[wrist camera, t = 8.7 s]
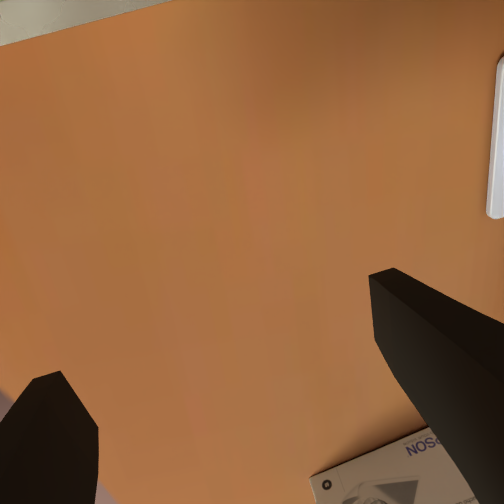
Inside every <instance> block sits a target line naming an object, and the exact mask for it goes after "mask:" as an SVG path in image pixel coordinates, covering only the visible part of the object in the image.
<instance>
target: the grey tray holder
mask: <svg viewBox="0 0 504 504" xmlns="http://www.w3.org/2000/svg"><path fill="white" fill-rule="evenodd" d="M167 1H171V0H0V46H2V45H6V44H10V43H13V42H17V41H21V40H25V39H28V38H32V37H36V36H40V35H43V34H47V33H51V32H55V31H58V30H62V29H66V28H70V27H73V26H77V25H81V24H85V23H88V22H92V21H96V20H100V19H103V18H107V17H111V16H115V15H118V14H122V13H126V12H130V11H133V10H137V9H141V8H145V7H148V6H152V5H156V4H160V3H163V2H167Z"/></svg>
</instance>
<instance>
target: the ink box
mask: <svg viewBox="0 0 504 504" xmlns="http://www.w3.org/2000/svg"><path fill="white" fill-rule="evenodd" d="M309 480H310V484H311V487H312V491H313V494H314V498H315V501H316V504H479V502H478V501H477V499H476V497H475V495H474V494H473V492H472V490H471V488H470V487H469V485H468V483H467V482H466V480H465V479H464V477H463V476H462V474H461V472H460V471H459V469H458V468H457V466H456V465H455V463H454V462H453V460H452V459H451V457H450V456H449V455H448V453H447V452H446V450H445V449H444V447H443V446H442V445H441V443H440V442H439V440H438V439H437V437H436V436H435V435H434V433H433V432H432V430H431V429H430V427H428V428H426V429H424V430H421V431H419V432H417V433H414V434H412V435H410V436H407V437H405V438H403V439H400V440H398V441H396V442H393V443H391V444H388V445H386V446H384V447H382V448H379V449H377V450H375V451H372V452H370V453H367V454H365V455H363V456H360V457H358V458H355V459H353V460H351V461H348V462H346V463H344V464H341V465H339V466H336V467H334V468H332V469H329V470H327V471H325V472H322V473H320V474H317V475H315V476H312V477H310V479H309Z"/></svg>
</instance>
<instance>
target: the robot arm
mask: <svg viewBox="0 0 504 504" xmlns="http://www.w3.org/2000/svg"><path fill="white" fill-rule="evenodd" d="M486 214H487V215H488V216H489V217H491V218H493V219H499V218H502V217H504V56H503V57H502V58H501V60H500V61H499V63H498V66H497V74H496V87H495V100H494V113H493V126H492V139H491V152H490V165H489V178H488V192H487V205H486ZM368 276H369V286H370V296H371V307H372V317H373V327H374V338H375V341H376V343H377V345H378V347H379V349H380V351H381V353H382V355H383V357H384V359H385V360H386V362H387V364H388V366H389V368H390V370H391V371H392V373H393V375H394V377H395V378H396V380H397V381H398V383H399V384H400V386H401V387H402V389H403V390H404V392H405V393H406V394H407V396H408V397H409V399H410V400H411V402H412V403H413V405H414V406H415V407H416V409H417V410H418V412H419V413H420V415H421V416H422V417H423V419H424V420H425V422H426V423H427V425H428V426H429V427H430V429H431V430H432V432H433V433H434V435H435V436H436V437H437V439H438V440H439V442H440V443H441V445H442V446H443V447H444V449H445V450H446V452H447V453H448V455H449V456H450V457H451V459H452V460H453V462H454V463H455V465H456V466H457V468H458V469H459V471H460V472H461V474H462V476H463V477H464V479H465V480H466V482H467V483H468V485H469V487H470V488H471V490H472V492H473V494H474V495H475V497H476V499H477V501H478V502H479V504H504V324H503V323H501V322H499V321H497V320H495V319H493V318H491V317H488V316H486V315H484V314H482V313H480V312H478V311H476V310H474V309H472V308H470V307H468V306H466V305H464V304H462V303H460V302H458V301H456V300H454V299H452V298H450V297H448V296H446V295H444V294H442V293H441V292H439V291H437V290H435V289H433V288H431V287H429V286H427V285H425V284H424V283H422V282H420V281H418V280H416V279H414V278H413V277H411V276H409V275H407V274H405V273H403V272H401V271H399V270H397V269H395V268H391V269H387V270H384V271H381V272H378V273H374V274H371V275H368ZM98 459H99V442H98V426H97V425H96V423H95V422H94V420H93V419H92V417H91V416H90V414H89V413H88V411H87V410H86V408H85V407H84V405H83V404H82V402H81V401H80V399H79V398H78V396H77V395H76V393H75V392H74V390H73V389H72V387H71V386H70V384H69V383H68V381H67V380H66V378H65V377H64V375H63V374H62V372H61V371H57V372H54V373H51V374H47V375H44V376H41V377H38V378H34V379H33V380H32V381H31V382H30V383H29V385H28V386H27V387H26V388H25V390H24V391H23V392H22V394H21V395H20V396H19V398H18V399H17V400H16V402H15V403H14V404H13V406H12V407H11V409H10V410H9V411H8V413H7V414H6V415H5V417H4V418H3V420H2V421H1V422H0V504H95V496H96V495H95V494H96V487H97V479H98Z"/></svg>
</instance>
